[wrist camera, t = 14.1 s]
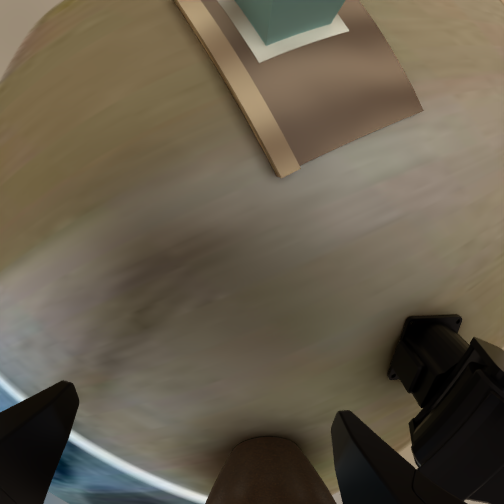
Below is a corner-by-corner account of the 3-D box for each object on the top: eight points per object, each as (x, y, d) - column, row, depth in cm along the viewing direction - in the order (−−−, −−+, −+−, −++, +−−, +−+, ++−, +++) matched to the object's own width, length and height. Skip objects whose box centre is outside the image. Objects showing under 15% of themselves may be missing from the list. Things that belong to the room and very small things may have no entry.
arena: (419, 111, 17) (441, 106, 15) (276, 176, 19) (281, 178, 16) (312, -49, 13) (319, -69, 11) (172, -2, 15) (161, -22, 12)
